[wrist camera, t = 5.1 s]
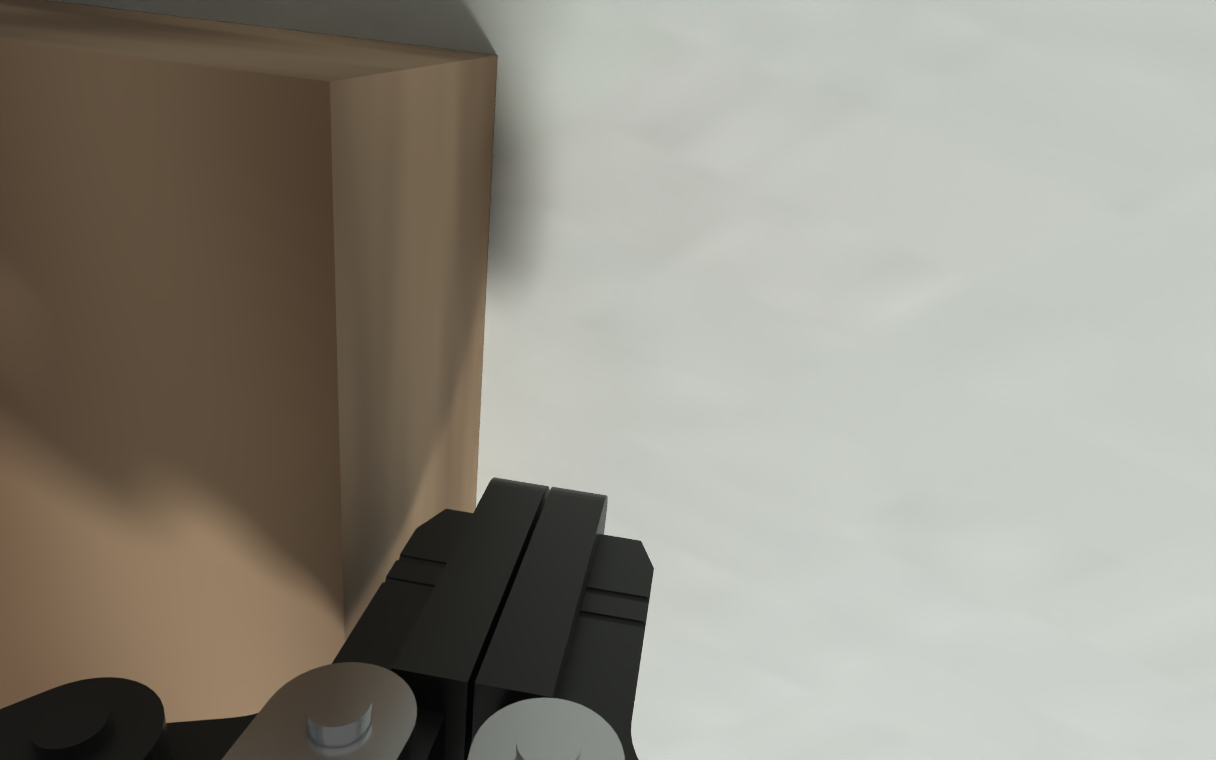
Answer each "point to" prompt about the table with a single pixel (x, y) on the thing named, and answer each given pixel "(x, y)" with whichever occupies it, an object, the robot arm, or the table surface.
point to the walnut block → (226, 340)
